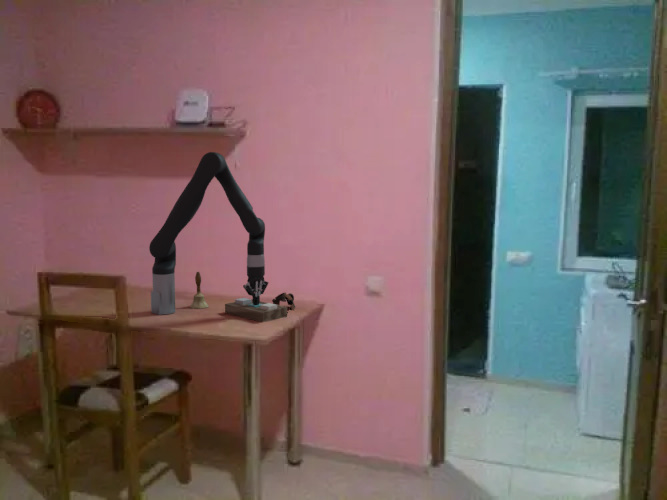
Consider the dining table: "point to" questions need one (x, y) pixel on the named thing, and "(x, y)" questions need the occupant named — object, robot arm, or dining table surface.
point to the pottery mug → (284, 299)
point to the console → (255, 311)
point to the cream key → (268, 306)
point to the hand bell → (198, 295)
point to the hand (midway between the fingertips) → (256, 304)
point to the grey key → (243, 301)
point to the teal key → (254, 305)
